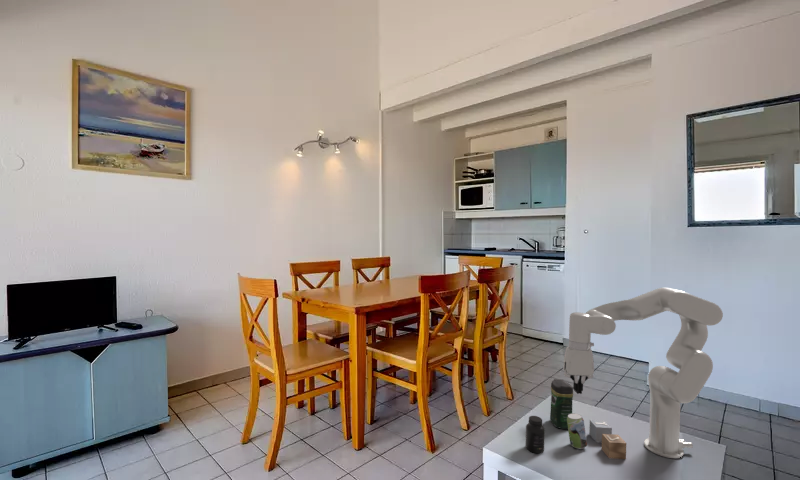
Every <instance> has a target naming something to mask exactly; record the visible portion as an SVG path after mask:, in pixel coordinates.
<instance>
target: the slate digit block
mask: <svg viewBox="0 0 800 480" xmlns="http://www.w3.org/2000/svg"><path fill="white" fill-rule="evenodd" d="M588 433H589V436H590V437H591V438H592V439H593V440H594V442H595V443H602V434H613V428H612V426H611V425H609V423H608V422H607V421H606V420H599V419H589V432H588Z"/></svg>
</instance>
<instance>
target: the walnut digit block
mask: <svg viewBox="0 0 800 480" xmlns="http://www.w3.org/2000/svg"><path fill="white" fill-rule="evenodd" d="M601 450H602V452H604V454H605V455H606V456H607V458H609V459H616V460H617V459H618V460H626V459H627V442H626V441H625V440H624V439H623V438H622V437H621V436H620V435H619V434H615V433H614V434H613V433H612V434H602V442H601Z"/></svg>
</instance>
